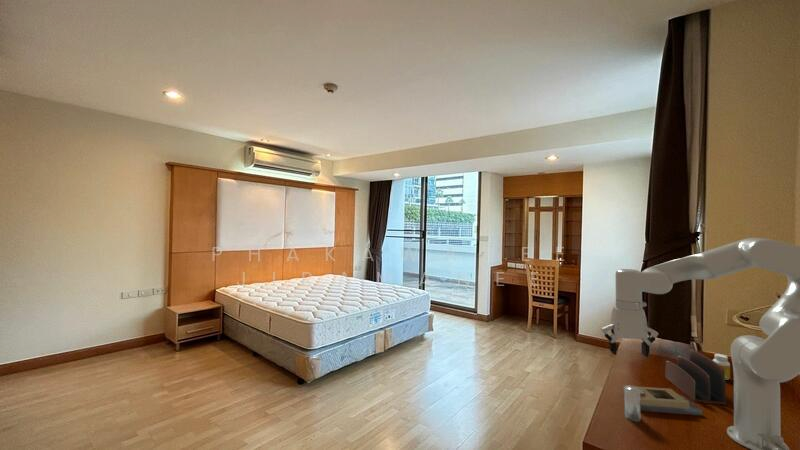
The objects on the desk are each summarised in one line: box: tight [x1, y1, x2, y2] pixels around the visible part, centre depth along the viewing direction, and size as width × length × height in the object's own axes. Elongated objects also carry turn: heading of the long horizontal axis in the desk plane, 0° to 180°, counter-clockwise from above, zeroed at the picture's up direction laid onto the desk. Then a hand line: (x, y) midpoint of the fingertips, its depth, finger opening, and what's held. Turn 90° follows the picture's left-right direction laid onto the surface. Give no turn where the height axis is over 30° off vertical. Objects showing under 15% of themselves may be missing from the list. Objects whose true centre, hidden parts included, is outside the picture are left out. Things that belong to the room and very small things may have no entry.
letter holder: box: [664, 349, 727, 406], centre depth 130 cm, size 10×20×14 cm, turn 166°
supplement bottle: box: [712, 353, 731, 380], centre depth 139 cm, size 5×5×10 cm
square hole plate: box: [622, 385, 703, 416], centre depth 119 cm, size 20×10×5 cm, turn 80°
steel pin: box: [624, 384, 642, 423], centre depth 112 cm, size 4×4×10 cm
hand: (629, 354), depth 114 cm, fingers open, 9 cm apart
